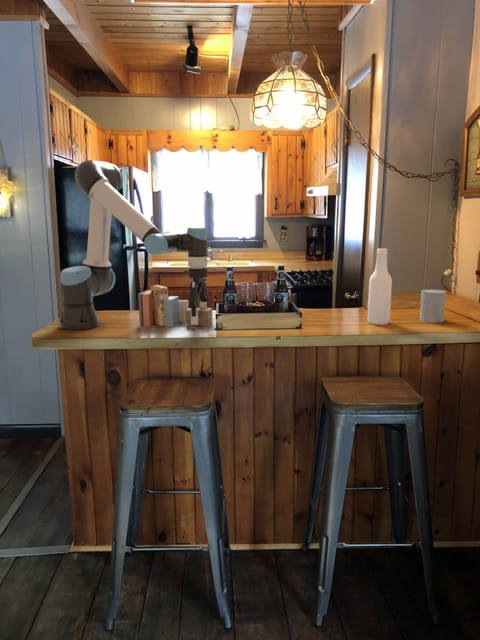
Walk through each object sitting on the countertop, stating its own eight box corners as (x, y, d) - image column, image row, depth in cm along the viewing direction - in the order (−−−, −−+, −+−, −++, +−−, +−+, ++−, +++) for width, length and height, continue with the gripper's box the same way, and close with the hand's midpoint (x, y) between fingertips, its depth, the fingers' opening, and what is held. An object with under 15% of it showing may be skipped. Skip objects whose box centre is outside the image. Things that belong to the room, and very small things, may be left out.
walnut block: (186, 327, 203) (186, 310, 202) (190, 324, 209) (190, 307, 208) (208, 328, 202) (208, 310, 200) (212, 325, 207) (212, 308, 206)
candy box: (170, 325, 207) (168, 287, 203) (160, 326, 204) (158, 288, 201) (160, 321, 214) (159, 284, 211) (151, 322, 212) (149, 285, 208)
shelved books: (143, 326, 206) (142, 294, 203) (151, 321, 215) (150, 290, 212) (172, 327, 204) (171, 294, 201) (179, 322, 212) (178, 291, 209)
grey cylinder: (444, 323, 208) (446, 293, 205) (419, 321, 211) (421, 292, 209) (443, 318, 217) (445, 289, 214) (419, 317, 220) (421, 288, 217)
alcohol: (392, 324, 206) (397, 249, 199) (370, 325, 205) (374, 249, 199) (385, 320, 214) (389, 247, 208) (364, 320, 214) (367, 248, 207)
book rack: (139, 326, 206) (138, 294, 203) (150, 320, 217) (148, 289, 214) (180, 327, 202) (179, 295, 200) (188, 321, 213) (187, 290, 211)
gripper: (198, 271, 188) (199, 328, 193) (214, 264, 212) (215, 315, 216) (179, 270, 190) (180, 327, 194) (197, 264, 213) (198, 314, 218)
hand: (199, 321), depth 205 cm, fingers open, 12 cm apart
